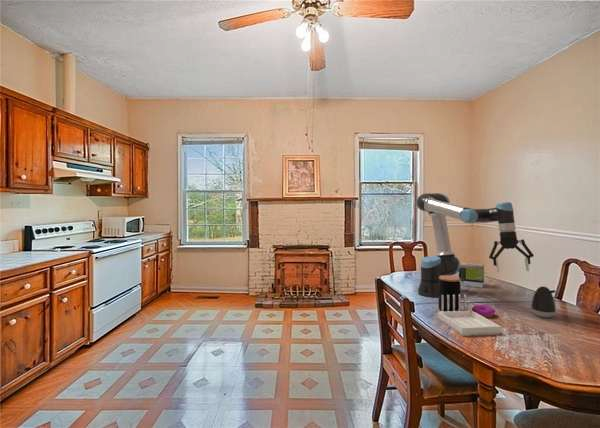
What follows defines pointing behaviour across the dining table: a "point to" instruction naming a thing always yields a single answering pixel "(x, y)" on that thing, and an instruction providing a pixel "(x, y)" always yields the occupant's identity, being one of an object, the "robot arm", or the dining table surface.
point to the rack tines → (453, 303)
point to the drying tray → (469, 323)
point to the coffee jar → (449, 291)
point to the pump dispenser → (543, 302)
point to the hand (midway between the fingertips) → (512, 271)
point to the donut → (484, 310)
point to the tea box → (471, 275)
